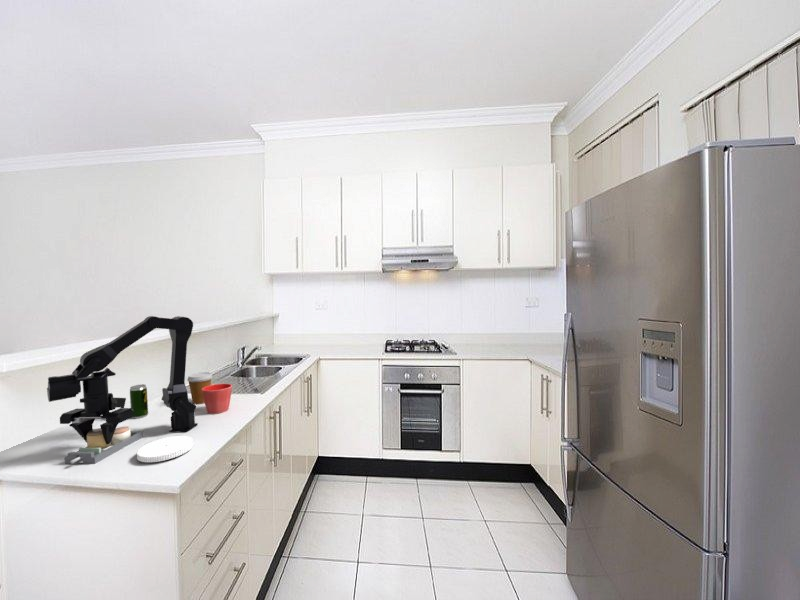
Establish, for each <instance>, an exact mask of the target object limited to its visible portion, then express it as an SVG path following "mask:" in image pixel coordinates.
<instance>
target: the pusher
mask: <svg viewBox="0 0 800 600" xmlns="http://www.w3.org/2000/svg"><path fill="white" fill-rule="evenodd" d="M78 451H79V452H94V456H95V455H97V454H99V453H101V452H102V450H101V448H85V447H79V448H78ZM78 460H80V461H81V460H83V455H80V456H79V457H77V458H75V459H73V460H71V461H70V463H71V464H73V463H75V462H76V461H78Z"/></svg>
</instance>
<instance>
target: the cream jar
mask: <svg viewBox="0 0 800 600" xmlns="http://www.w3.org/2000/svg"><path fill="white" fill-rule="evenodd" d="M130 431H131V428H130V427H129V426H125V425H124V426H119V427H116V429H115V432H114V435H113V437H112V442H111V445H112V446H114V445H116V444H118V443H120V442H121V441H123V440H125V439H127V438H129V437H131V432H130Z"/></svg>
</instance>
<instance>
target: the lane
mask: <svg viewBox="0 0 800 600" xmlns="http://www.w3.org/2000/svg"><path fill="white" fill-rule="evenodd" d="M130 432H131V437H129V438H127V439H125V440H123V441H121V442H120V443H118V444H116V445H112V446H109V447H107V448H105V450H104V449H103V450H101V453H99V454H97V455H95V456H94V452H79V450H76V451H70V452H67V456H65V457H64V464H68V465H69V464H71V463H70V461H71V460H73V459H75V458H77V457H79V456H80V455H83V458H82V464H83V465H84V464H92V465H93V464H94V465H95V464H97V463H98V462H101V461H102V460H104V459H106V458H108V457H110V456H112V455H114V453H116V452H119V451H120V450H123V449H124V448H125V447H128V446H130V445H131V444H133V443H135V442H137V441H138V440H141V439H142V438H144V436H145V434H144V431H141V430H140V431H137V430H134V431H131V430H130ZM111 443H112V440H111ZM84 448H87V446H84ZM80 462H81V459H80V460H78V461H76V462H75V463H73V464H79V463H80Z"/></svg>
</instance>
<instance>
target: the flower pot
mask: <svg viewBox="0 0 800 600" xmlns="http://www.w3.org/2000/svg"><path fill="white" fill-rule="evenodd" d="M232 390H233V385H232V384H231V383H218V384H217V383H216V384H211V385H210V386H206V387H204V388H202V394H203V398H204V402H205V403H204V405H205V409H206V412H207V414H211V415H216V414H220V413H225V412H227V411H229V408H230V404H231V396H232Z"/></svg>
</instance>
